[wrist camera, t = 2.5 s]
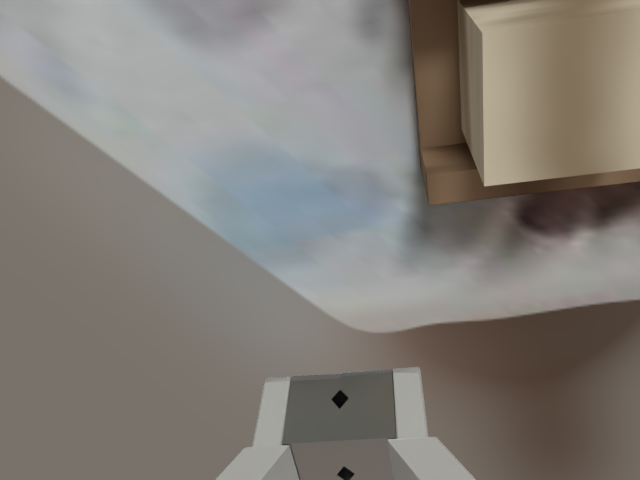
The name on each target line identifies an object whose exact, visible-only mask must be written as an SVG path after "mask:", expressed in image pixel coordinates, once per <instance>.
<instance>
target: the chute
mask: <svg viewBox="0 0 640 480" xmlns="http://www.w3.org/2000/svg"><path fill="white" fill-rule="evenodd" d="M408 3H409V16H410V29H411V42H412V55H413V68H414V81H415V94H416V107H417V120H418V134H419V147H420V160H421V170H422V175H423V179H424V184H425V189H426V194H427V198H428V203H429V205H436V204H445V203H454V202H462V201H471V200H480V199H489V198H498V197H506V196H515V195H524V194H533V193H542V192H550V191H559V190H568V189H577V188H586V187H594V186H603V185H612V184H621V183H630V182H638V181H640V168H638V169H630V170H621V171H613V172H604V173H595V174H587V175H578V176H570V177H561V178H553V179H544V180H535V181H527V182H518V183H510V184H501V185H492V186H484V185H483V182H482V180H481V177H480V174H479V172H478V169H477V167H476V164H475V162H474V159H473V157H472V154H471V152H470V149H469V146H468V144H467V141H466V139H465V136H464V134H463V131H462V128H461V98H460V68H459V39H458V9H457V0H408Z"/></svg>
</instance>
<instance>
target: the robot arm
mask: <svg viewBox="0 0 640 480" xmlns="http://www.w3.org/2000/svg"><path fill="white" fill-rule="evenodd" d="M215 480H476V479H475V478H474V477H473V476H472V475H471V474H470V473H469V472H468V471H467V469H466V468H465V467H464V466H463V465H462V464H461V463H460V462H459V461H458V460H457V459H456V458H455V457H454V456H453V454H452V453H451V452H450V451H449V450H448V449H447V448H446V447H445V446H444V445H443V444H442V442H441V441H440V440H439V439H438V438H437V437H428V431H427V422H426V414H425V406H424V397H423V388H422V380H421V371H420V368H419V367H412V368H400V369H393V370H392V369H389V370H375V371H365V372H351V373H343V374H326V375H307V376H306V375H305V376H293V377H273V378H267V380H266V382H265V383H264V387H263V392H262V397H261V403H260V408H259V413H258V418H257V424H256V429H255V435H254V439H253V445H252V447H245V448H244V449H243V450H242V451H241V452H240V453H239V454H238V455H237V456H236V458H235V459H234V460H233V461H232V462H231V463H230V464H229V465H228V466H227V467H226V468H225V470H224V471H223V472H222V473H221V474H220V475H219V476H218V477H217V479H215Z"/></svg>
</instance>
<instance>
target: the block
mask: <svg viewBox="0 0 640 480" xmlns="http://www.w3.org/2000/svg"><path fill="white" fill-rule="evenodd" d="M457 9H458V39H459V68H460V98H461V128H462V131H463V134H464V136H465V139H466V141H467V144H468V146H469V149H470V152H471V154H472V157H473V159H474V162H475V164H476V167H477V169H478V172H479V174H480V177H481V180H482V182H483V185H484V186H492V185H501V184H510V183H518V182H527V181H535V180H544V179H553V178H561V177H570V176H578V175H587V174H595V173H604V172H613V171H621V170H630V169H638V168H640V0H457Z"/></svg>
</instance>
